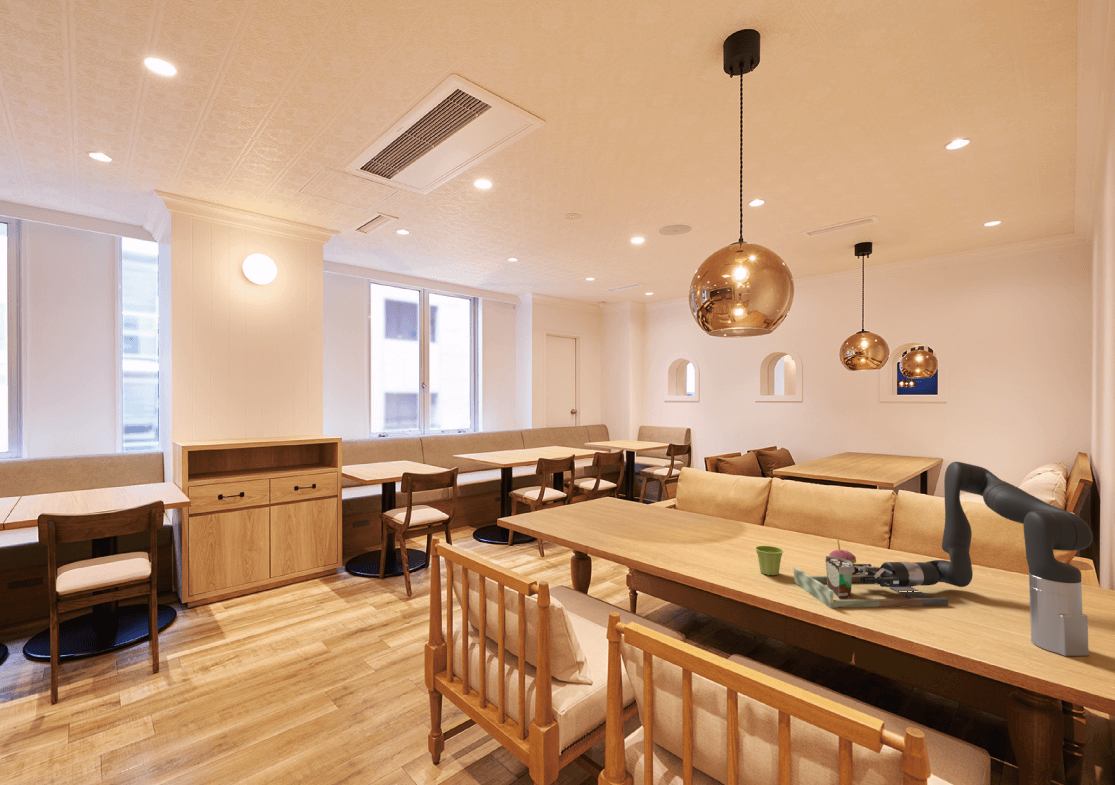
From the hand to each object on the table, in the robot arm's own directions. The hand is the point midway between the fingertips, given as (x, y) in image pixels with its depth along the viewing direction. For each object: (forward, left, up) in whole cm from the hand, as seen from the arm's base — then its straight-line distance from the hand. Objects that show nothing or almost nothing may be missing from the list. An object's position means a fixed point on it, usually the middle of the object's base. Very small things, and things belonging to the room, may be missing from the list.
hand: (852, 575), depth 157 cm
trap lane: (0, -4, -6) cm, 7 cm away
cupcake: (+22, -10, -6) cm, 25 cm away
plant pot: (+20, +18, -6) cm, 27 cm away
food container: (+1, +3, -6) cm, 7 cm away
